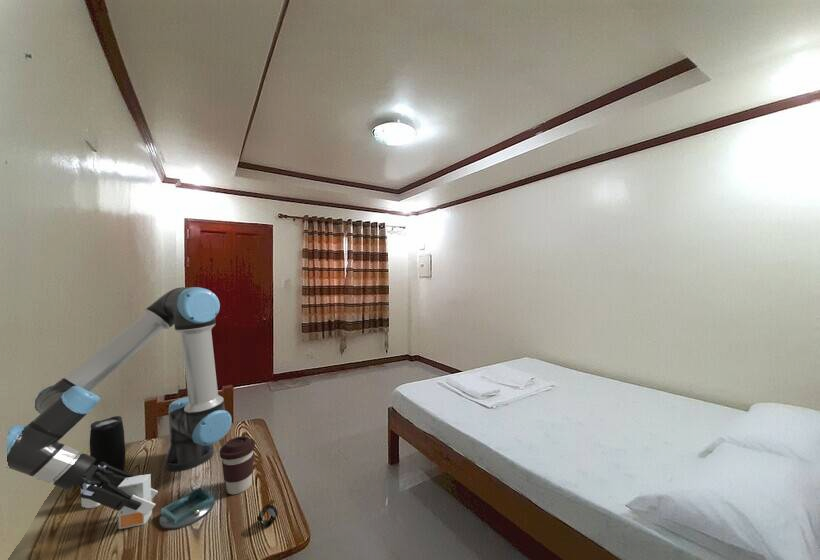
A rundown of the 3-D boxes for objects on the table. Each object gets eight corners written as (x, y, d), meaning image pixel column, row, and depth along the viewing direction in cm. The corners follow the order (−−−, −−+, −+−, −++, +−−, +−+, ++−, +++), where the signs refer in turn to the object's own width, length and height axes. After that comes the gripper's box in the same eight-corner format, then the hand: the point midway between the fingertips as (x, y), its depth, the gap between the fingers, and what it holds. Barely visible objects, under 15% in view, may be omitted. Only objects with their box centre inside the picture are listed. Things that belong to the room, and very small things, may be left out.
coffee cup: (241, 500, 95) (239, 451, 94) (213, 496, 97) (211, 448, 96) (263, 478, 104) (261, 434, 104) (237, 475, 106) (235, 432, 106)
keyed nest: (151, 518, 88) (150, 509, 88) (201, 490, 100) (200, 482, 100) (172, 537, 82) (172, 527, 82) (223, 504, 93) (223, 496, 93)
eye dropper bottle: (100, 496, 98) (98, 458, 98) (105, 503, 95) (103, 464, 95) (80, 505, 94) (78, 466, 94) (85, 512, 91) (83, 472, 91)
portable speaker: (123, 466, 114) (121, 412, 113) (128, 476, 108) (125, 420, 107) (89, 478, 107) (87, 421, 107) (93, 489, 101) (90, 430, 101)
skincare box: (118, 530, 84) (116, 487, 84) (127, 518, 88) (125, 477, 88) (145, 525, 86) (143, 482, 86) (152, 513, 90) (151, 472, 90)
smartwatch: (279, 524, 85) (278, 506, 85) (259, 534, 82) (258, 515, 82) (274, 515, 88) (274, 497, 88) (255, 524, 85) (254, 506, 85)
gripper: (65, 463, 86) (145, 496, 96) (36, 504, 71) (135, 538, 80) (91, 438, 89) (166, 473, 98) (68, 472, 73) (160, 509, 83)
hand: (152, 502), depth 89 cm, fingers closed on skincare box, 6 cm apart
